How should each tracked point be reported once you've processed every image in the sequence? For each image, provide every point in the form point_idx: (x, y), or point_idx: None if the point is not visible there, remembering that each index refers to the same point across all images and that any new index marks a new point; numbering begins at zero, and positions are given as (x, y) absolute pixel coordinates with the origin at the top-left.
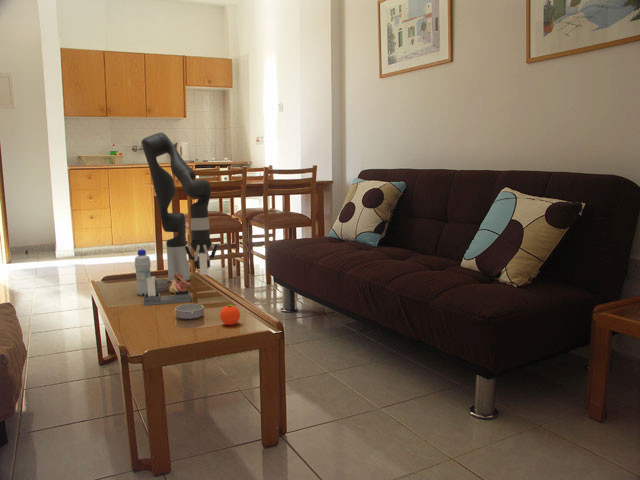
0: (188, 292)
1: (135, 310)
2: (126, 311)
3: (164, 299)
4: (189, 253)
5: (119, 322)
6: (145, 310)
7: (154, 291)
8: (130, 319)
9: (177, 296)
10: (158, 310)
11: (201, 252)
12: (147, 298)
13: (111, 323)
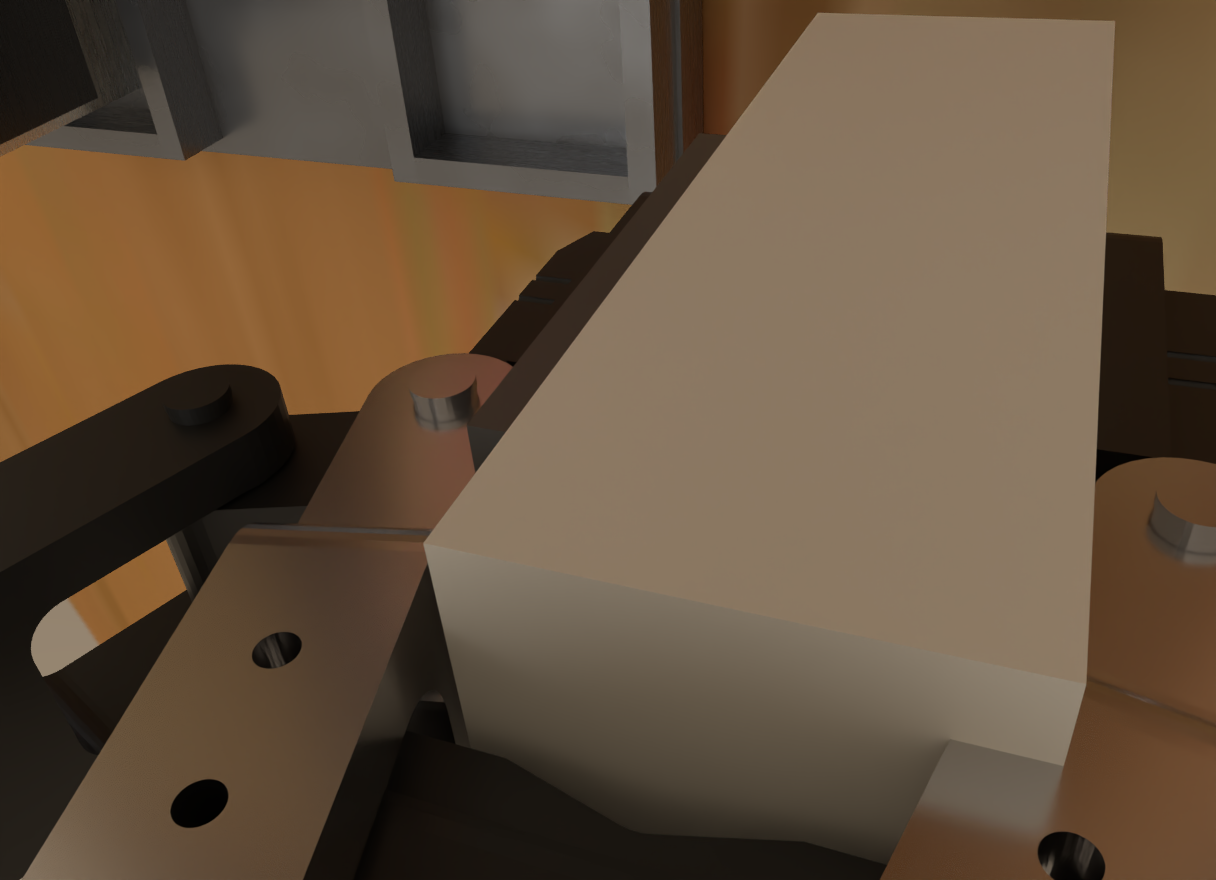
0: (623, 23)
1: (76, 305)
2: (3, 302)
3: (270, 101)
4: (48, 800)
5: (119, 615)
6: (183, 357)
7: (35, 128)
8: (168, 584)
9: (449, 177)
10: None
11: (660, 787)
12: (39, 140)
13: (73, 607)
